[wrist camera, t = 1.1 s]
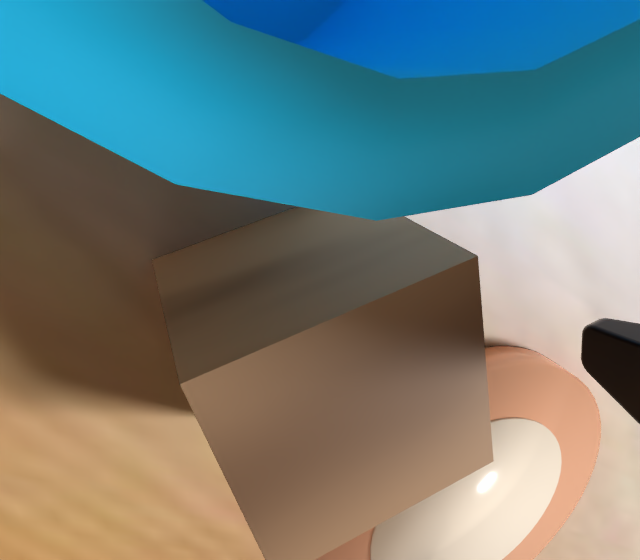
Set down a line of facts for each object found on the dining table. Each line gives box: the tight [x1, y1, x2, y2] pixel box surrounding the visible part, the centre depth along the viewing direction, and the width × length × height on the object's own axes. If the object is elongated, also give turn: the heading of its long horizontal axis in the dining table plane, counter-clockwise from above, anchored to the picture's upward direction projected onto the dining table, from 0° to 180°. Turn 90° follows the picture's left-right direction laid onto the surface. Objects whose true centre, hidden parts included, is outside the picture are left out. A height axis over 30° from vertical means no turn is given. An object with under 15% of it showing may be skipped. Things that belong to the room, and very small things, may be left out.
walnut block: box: [152, 207, 494, 560], centre depth 11 cm, size 5×5×5 cm
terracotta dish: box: [315, 346, 601, 560], centre depth 18 cm, size 12×12×1 cm
